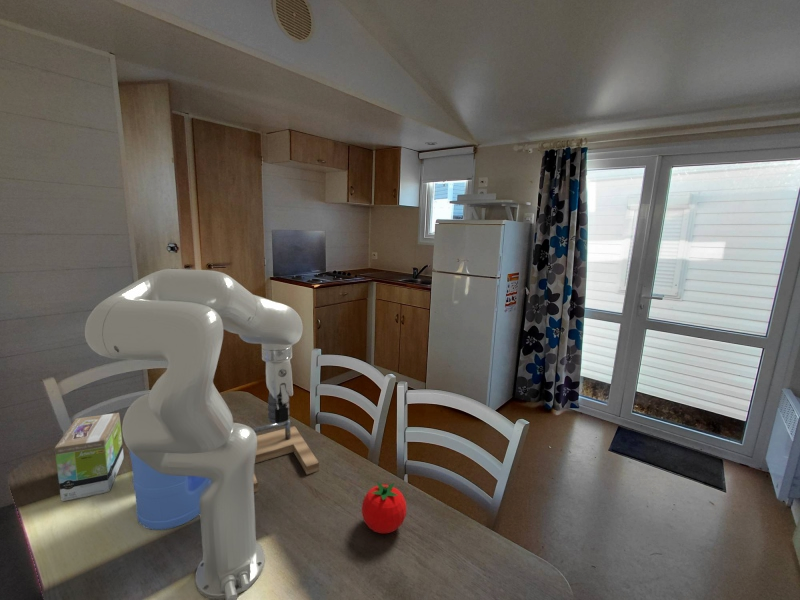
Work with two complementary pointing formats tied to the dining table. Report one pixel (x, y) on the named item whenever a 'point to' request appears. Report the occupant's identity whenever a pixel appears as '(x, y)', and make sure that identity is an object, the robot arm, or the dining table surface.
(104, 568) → the dining table surface
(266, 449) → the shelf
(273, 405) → the coil
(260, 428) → the metal bar handle
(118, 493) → the dining table surface
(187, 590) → the dining table surface
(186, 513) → the water jug
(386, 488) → the tomato
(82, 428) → the tea box
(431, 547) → the dining table surface
